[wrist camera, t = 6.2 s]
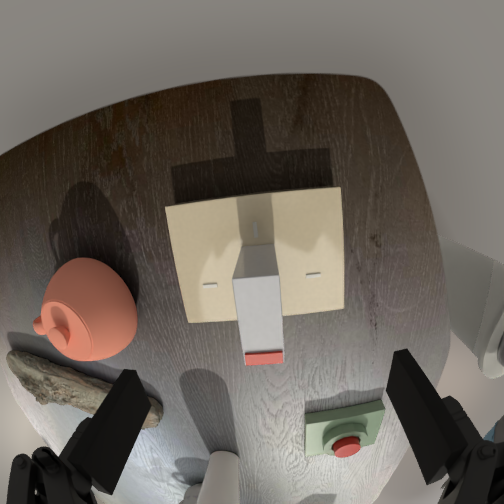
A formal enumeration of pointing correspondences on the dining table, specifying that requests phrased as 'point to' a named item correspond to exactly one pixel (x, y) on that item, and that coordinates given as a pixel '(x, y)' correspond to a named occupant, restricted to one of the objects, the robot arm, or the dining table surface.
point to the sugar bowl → (87, 311)
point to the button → (346, 446)
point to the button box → (342, 427)
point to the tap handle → (259, 305)
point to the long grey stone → (67, 385)
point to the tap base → (259, 233)
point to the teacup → (191, 494)
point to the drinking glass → (221, 480)
